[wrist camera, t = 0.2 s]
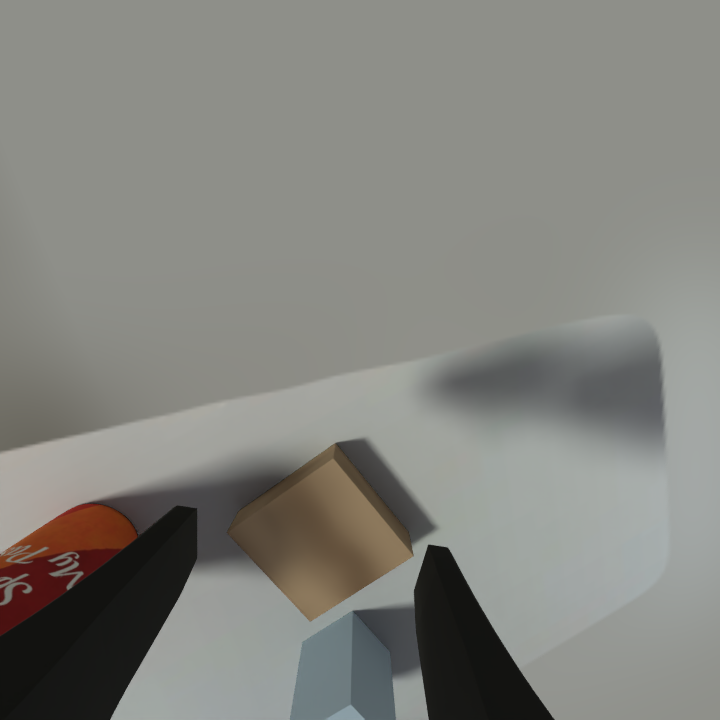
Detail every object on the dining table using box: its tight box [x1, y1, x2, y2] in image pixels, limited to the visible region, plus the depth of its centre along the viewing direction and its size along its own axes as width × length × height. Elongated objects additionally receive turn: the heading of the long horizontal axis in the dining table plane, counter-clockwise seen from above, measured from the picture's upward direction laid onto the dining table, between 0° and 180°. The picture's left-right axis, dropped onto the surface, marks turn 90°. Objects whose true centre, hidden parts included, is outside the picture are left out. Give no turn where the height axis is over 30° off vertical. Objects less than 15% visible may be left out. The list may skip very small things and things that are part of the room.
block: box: [290, 611, 396, 720], centre depth 21 cm, size 4×4×6 cm
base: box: [227, 443, 414, 621], centre depth 21 cm, size 8×8×2 cm
